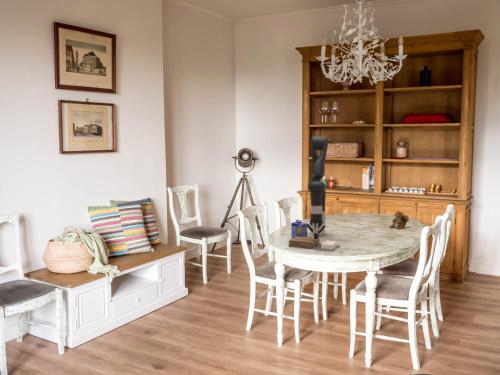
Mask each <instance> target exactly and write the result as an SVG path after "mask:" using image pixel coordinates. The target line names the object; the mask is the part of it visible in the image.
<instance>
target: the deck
mask: <svg viewBox="0 0 500 375" xmlns="http://www.w3.org/2000/svg"><path fill="white" fill-rule="evenodd" d="M320 240H321V239H320V238H318V239H315V238H314V237H308V236H307V237H300V236H296V237H294V238H292V239H289V240H288V247H289V248H297V247H298V248H299V249H300V248H301V249H307V250H308V249H309V250H314V249H313V248H314V247H316V246H317V245H319V244H320V242H321V241H320Z"/></svg>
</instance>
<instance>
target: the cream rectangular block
mask: <svg viewBox="0 0 500 375" xmlns="http://www.w3.org/2000/svg"><path fill="white" fill-rule="evenodd" d="M321 243H322V244H321V248H322V249H331V250H332V249H334V248H335V247H336V246H337V245H338V241H337V240H335V241H334V240H325V241H322V242H321Z"/></svg>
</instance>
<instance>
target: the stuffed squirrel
mask: <svg viewBox="0 0 500 375" xmlns="http://www.w3.org/2000/svg"><path fill="white" fill-rule="evenodd" d="M393 217H394V218H392V220H391V221H392V225H389V227H388V228H389V229H396V230H401V229H402V230H404V229H405V227H406V225H407V223H408V222H409V221H410V217H409V216H408V215H407V214H405V212H401V211H399V210H396V211H395V213H394V215H393ZM402 230H401V231H402Z"/></svg>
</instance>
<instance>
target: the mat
mask: <svg viewBox="0 0 500 375" xmlns="http://www.w3.org/2000/svg"><path fill="white" fill-rule="evenodd" d="M322 243H323V242H321V243H320V244H319V245H317V246H316V247H314V248H313V249H312V250H315V251H326V252H334V251H336V250H337V249H338V248H339V247H341V245H339V244H337V246H336V247H335V248H334V249H332V250H331V249H322V248H321V244H322Z"/></svg>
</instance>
